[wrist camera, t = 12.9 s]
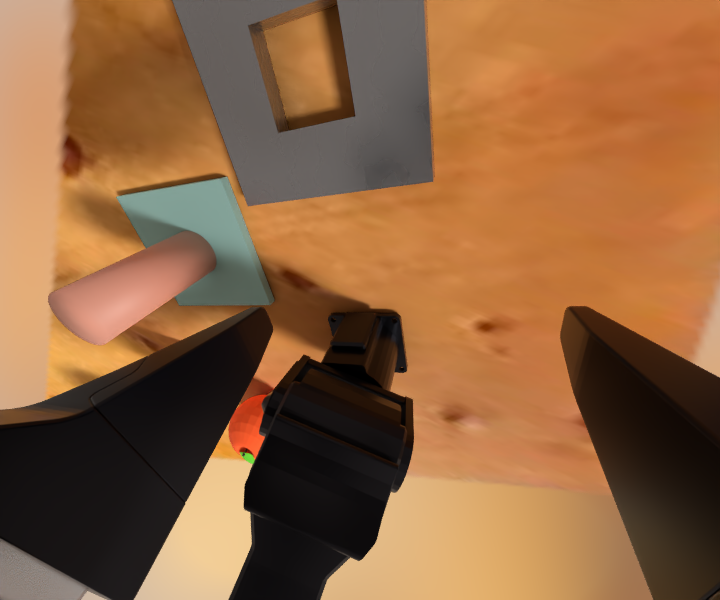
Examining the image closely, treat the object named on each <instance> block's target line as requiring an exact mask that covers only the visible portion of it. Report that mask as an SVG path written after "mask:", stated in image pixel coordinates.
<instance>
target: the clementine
mask: <svg viewBox="0 0 720 600" xmlns="http://www.w3.org/2000/svg"><path fill="white" fill-rule="evenodd" d="M266 396H267V395H257V396H254V397H251V398H249V399H247V400H246V401H244V402H243V403H242V404H241V405H240V406H239V407H238V408H237V409H236V410H235V412H234V414H233V416H232V417H231V420H230V425H229V429H228V430H229V439H230V442H231V444H232V447H233V448H234V450H235V451H236V452H237V453H238V454H239V455H241V456H242V457H243V458H244V459H245V460H246V461H248V462H249V463H252V464H253V463H254V461H255V459H256V456H257V454H258V452H259V450H260V447H261V445H262V443H263V441H264V438H265V437H264V436H261V435H260V434H259V429H260V425H261V422H262V417H263V414H264V413H263V410H262V406H261V404H262V401H263V399H264V398H265V397H266Z"/></svg>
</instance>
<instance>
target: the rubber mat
mask: <svg viewBox="0 0 720 600" xmlns="http://www.w3.org/2000/svg"><path fill="white" fill-rule="evenodd" d="M116 198H117V199H118V201H119V203H120V205H121V206H122V208H123V210H124V211H125V213H126V215H127V217H128V218H129V220H130V222H131V223H132V225H133V227H134V229H135V230H136V232H137V234H138V235H139V237H140V239H141V241H142V242H143V244H144V246H145V247H146V248H148V247H150V246H152V245H154V244H157V243H159V242H161V241H163V240H165V239H167V238H169V237H172V236H174V235H176V234H178V233H180V232H182V231H192V232H195V233H197V234H199V235H200V236H202V237H203V238H204V239H205V240H206V241H207V242H208V243H209V244H210V245H211V247H212V248H213V250H214V252H215V255H216V261H217V262H216V267H215V269H214V270H213V271H212V272H210V273H209V274H207V275H206V276H204V277H203V278H201V279H200V280H198V281H197V282H195V283H194V284H193V285H191V286H190V287H188V288H187V289H185V290H184V291H182V292H181V293H179V294H178V295H176V296H175V299H176V301H177V302H178V304H179V306H197V305H271V304H272V303H273V302H274V301H275V300H274V297H273V295H272V292H271V289H270V287H269V284H268V282H267V279H266V276H265V274H264V271H263V268H262V266H261V263H260V261H259V258H258V255H257V253H256V250H255V248H254V245H253V242H252V240H251V237H250V235H249V232H248V229H247V227H246V224H245V222H244V219H243V216H242V214H241V211H240V209H239V206H238V203H237V201H236V198H235V196H234V193H233V190H232V188H231V185H230V182H229V180H228V177H221V178H216V179H210V180H204V181H199V182H193V183H187V184H181V185H176V186H170V187H164V188H159V189H153V190H147V191H141V192H136V193H130V194H124V195H121V196H117V197H116Z"/></svg>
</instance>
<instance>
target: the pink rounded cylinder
mask: <svg viewBox="0 0 720 600" xmlns="http://www.w3.org/2000/svg"><path fill="white" fill-rule="evenodd" d="M216 262H217V261H216V255H215V252H214V250H213V248H212V247H211V245H210V244H209V243H208V242H207V241H206V240H205V239H204V238H203V237H202V236H200V235H199V234H197V233H195V232H192V231H182V232H180V233H178V234H176V235H174V236H172V237H169V238H167V239H165V240H163V241H161V242H159V243H157V244H154V245H152V246H150V247H148V248H146V249H144V250H142V251H140V252H137V253H135V254H133V255H131V256H129V257H127V258H125V259H122V260H120V261H118V262H116V263H114V264H112V265H110V266H107V267H105V268H103V269H101V270H99V271H97V272H95V273H92V274H90V275H88V276H86V277H84V278H82V279H80V280H77V281H75V282H73V283H71V284H69V285H67V286H65V287H63V288H60V289H58V290H56V291H54V292H52V293H50V294H49V296H48V302H49V305H50V307H51V309H52V311H53V313H54V314H55V315H56V317H57V318H58V319H59V320H60V321H61V323H62V324H63V325H64V326H65V327H67V328H68V329H69V330H70V331H71V332H72V333H74V334H75V335H77V336H78V337H80V338H81V339H83V340H85V341H87V342H89V343H92V344H95V345H104V344H106V343H107V342H109V341H110V340H112V339H113V338H115V337H116V336H118V335H119V334H121V333H122V332H124V331H125V330H126V329H128V328H129V327H131V326H132V325H134V324H135V323H137V322H138V321H140V320H141V319H143V318H144V317H146V316H147V315H149V314H150V313H151V312H153V311H154V310H156V309H157V308H159V307H160V306H162V305H163V304H165V303H166V302H168V301H169V300H171V299H172V298H173V297H175V296H176V295H178V294H179V293H181V292H182V291H184V290H185V289H187V288H188V287H190V286H191V285H193V284H194V283H195V282H197V281H198V280H200V279H201V278H203V277H204V276H206V275H207V274H209V273H210V272H212V271H213V270H214V269H215V267H216Z"/></svg>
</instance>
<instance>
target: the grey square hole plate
mask: <svg viewBox="0 0 720 600" xmlns="http://www.w3.org/2000/svg"><path fill="white" fill-rule="evenodd" d="M172 1H173V4H174V6H175V9H176V12H177V15H178V17H179V20H180V23H181V25H182V28H183V31H184V34H185V36H186V39H187V42H188V44H189V47H190V50H191V53H192V55H193V58H194V61H195V64H196V66H197V69H198V72H199V74H200V77H201V80H202V83H203V85H204V88H205V91H206V93H207V96H208V99H209V102H210V104H211V107H212V110H213V112H214V115H215V118H216V121H217V123H218V126H219V129H220V131H221V134H222V137H223V140H224V142H225V145H226V148H227V151H228V153H229V156H230V159H231V161H232V164H233V167H234V170H235V172H236V175H237V178H238V180H239V183H240V186H241V189H242V191H243V194H244V197H245V199H246V202H247V205H248V206H252V205H260V204H267V203H275V202H283V201H290V200H298V199H305V198H313V197H320V196H328V195H335V194H343V193H351V192H358V191H366V190H373V189H381V188H388V187H396V186H403V185H411V184H419V183H426V182H433V180H434V177H435V172H434V152H433V131H432V110H431V89H430V68H429V48H428V27H427V6H426V0H172ZM335 5H338V10H339V16H340V23H341V29H342V35H343V41H344V47H345V54H346V60H347V66H348V72H349V79H350V85H351V91H352V97H353V104H354V110H355V116H354V117H350V118H345V119H341V120H336V121H331V122H327V123H322V124H318V125H313V126H308V127H304V128H299V129H295V130H290V131H289V128H288V124H287V121H286V117H285V113H284V109H283V105H282V102H281V98H280V94H279V90H278V86H277V83H276V79H275V75H274V71H273V68H272V64H271V60H270V56H269V52H268V49H267V45H266V41H265V37H264V33H263V31H264V30H267V29H270V28H273V27H276V26H278V25H281V24H284V23H287V22H290V21H293V20H295V19H298V18H301V17H304V16H307V15H310V14H313V13H315V12H318V11H321V10H324V9H327V8H330V7H333V6H335Z"/></svg>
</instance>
